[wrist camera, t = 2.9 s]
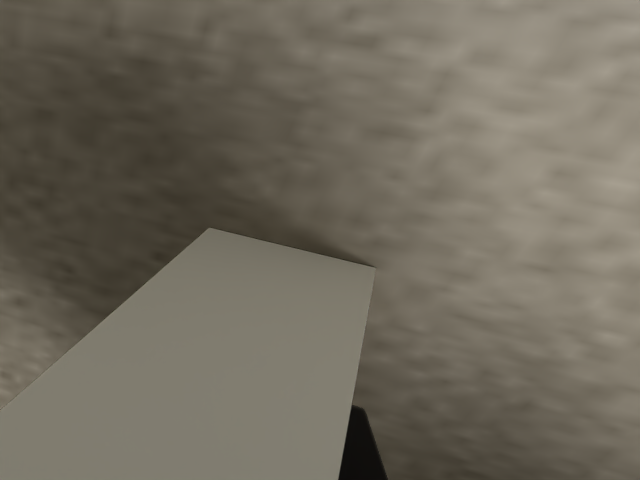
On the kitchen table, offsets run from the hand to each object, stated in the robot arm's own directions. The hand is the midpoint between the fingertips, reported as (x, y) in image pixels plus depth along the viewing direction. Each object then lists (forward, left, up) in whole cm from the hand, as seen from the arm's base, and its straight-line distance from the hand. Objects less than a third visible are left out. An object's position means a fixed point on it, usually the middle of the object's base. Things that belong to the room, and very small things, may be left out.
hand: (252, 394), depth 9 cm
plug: (0, 0, -2) cm, 2 cm away
